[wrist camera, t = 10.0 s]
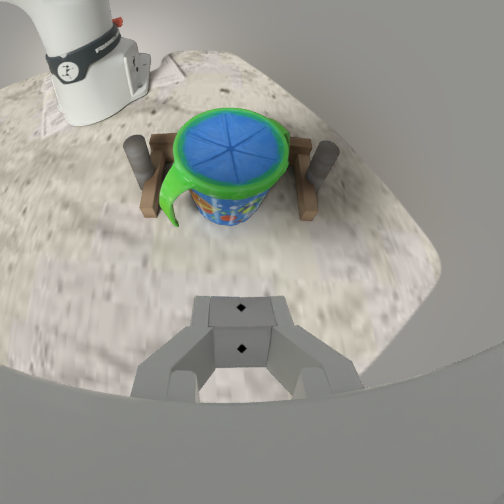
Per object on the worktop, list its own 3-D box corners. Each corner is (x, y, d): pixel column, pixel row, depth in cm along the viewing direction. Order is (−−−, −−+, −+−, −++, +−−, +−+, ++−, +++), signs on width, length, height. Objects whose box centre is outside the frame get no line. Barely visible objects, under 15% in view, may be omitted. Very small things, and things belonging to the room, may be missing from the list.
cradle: (147, 154, 34) (134, 112, 26) (312, 158, 36) (330, 119, 29) (134, 217, 30) (112, 181, 23) (322, 221, 33) (348, 186, 25)
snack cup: (256, 146, 36) (267, 89, 26) (303, 203, 33) (331, 152, 24) (151, 197, 32) (130, 142, 22) (192, 268, 29) (178, 230, 20)
